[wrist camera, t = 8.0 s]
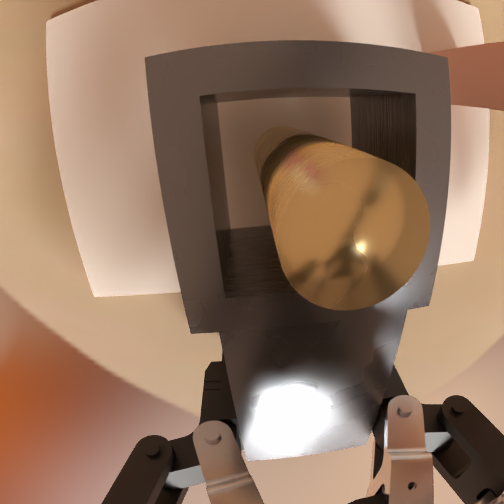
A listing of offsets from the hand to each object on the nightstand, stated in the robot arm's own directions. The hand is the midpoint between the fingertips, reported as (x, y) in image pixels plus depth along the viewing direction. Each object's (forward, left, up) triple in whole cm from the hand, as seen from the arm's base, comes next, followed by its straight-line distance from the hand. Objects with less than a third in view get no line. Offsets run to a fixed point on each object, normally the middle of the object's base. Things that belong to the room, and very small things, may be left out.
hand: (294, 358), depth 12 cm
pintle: (-8, 0, -2) cm, 8 cm away
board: (-9, 0, -2) cm, 9 cm away
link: (-5, 0, 0) cm, 5 cm away
